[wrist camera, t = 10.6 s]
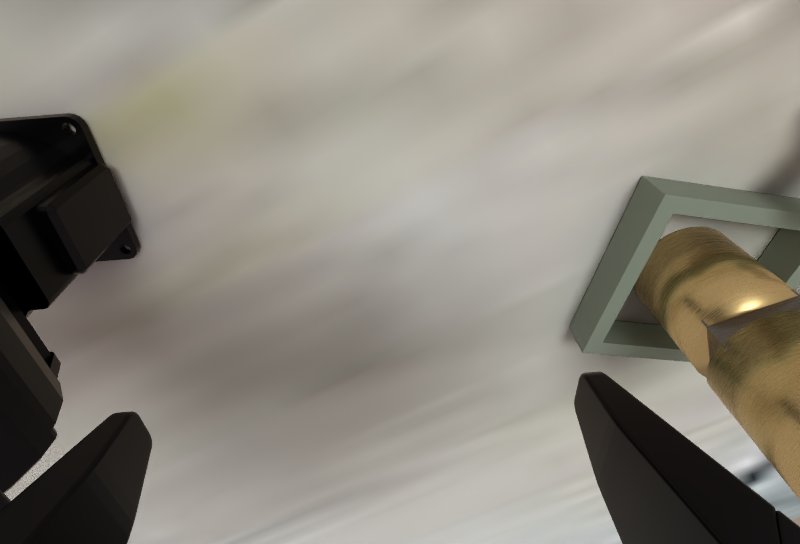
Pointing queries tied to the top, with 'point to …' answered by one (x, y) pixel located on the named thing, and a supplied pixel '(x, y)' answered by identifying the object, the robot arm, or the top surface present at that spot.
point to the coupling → (733, 334)
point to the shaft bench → (636, 239)
